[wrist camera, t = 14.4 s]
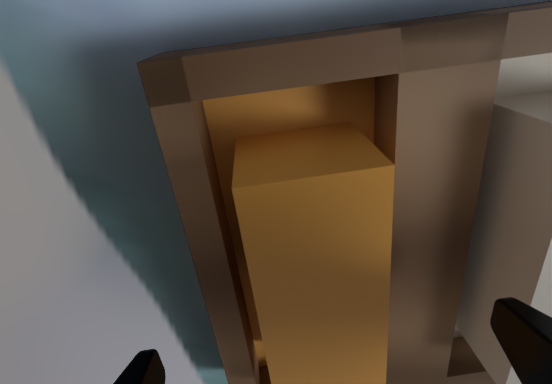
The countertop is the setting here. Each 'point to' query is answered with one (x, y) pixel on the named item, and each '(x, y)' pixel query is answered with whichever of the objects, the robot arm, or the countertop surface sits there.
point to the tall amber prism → (318, 250)
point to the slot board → (379, 130)
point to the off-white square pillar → (510, 226)
